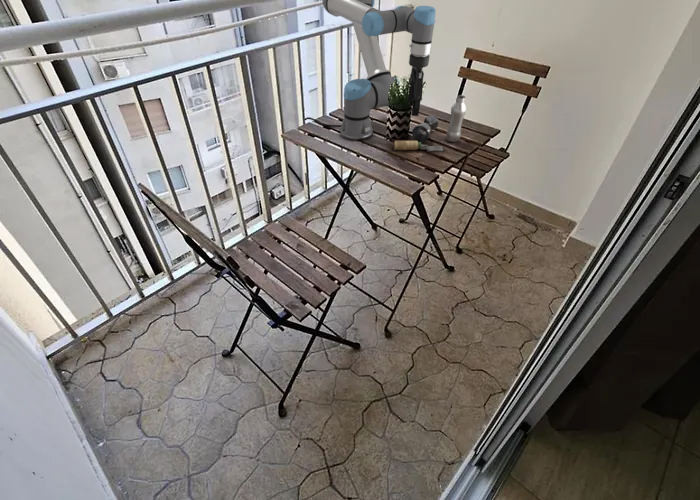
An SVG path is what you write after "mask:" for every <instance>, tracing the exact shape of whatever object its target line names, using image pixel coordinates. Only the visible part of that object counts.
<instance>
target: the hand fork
mask: <svg viewBox="0 0 700 500" xmlns="http://www.w3.org/2000/svg"><path fill="white" fill-rule="evenodd" d="M419 149H420V150H426V152H444V148H443V146H441V145H437V146H436V145H435V146H433V145H432V146H431V145H428V144H422V143H421V142H418V141H415V140H394V141H393V151H417V150H419Z"/></svg>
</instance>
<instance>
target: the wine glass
mask: <svg viewBox="0 0 700 500" xmlns="http://www.w3.org/2000/svg"><path fill="white" fill-rule="evenodd" d="M438 126H439V119H438V118H437V117H436V116H435V115H432V114H430V115H427V116H425V117H424V120H423V122H421V123H418V124H417V125H415V126H414V127H413V129H412V131H411V136H412V139H413V141H418V142H421V144H423V143H426V142H427V141H428V139H429V138H430V137H431V134H432V131H434V130H437V128H438Z"/></svg>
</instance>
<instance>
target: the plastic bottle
mask: <svg viewBox="0 0 700 500" xmlns="http://www.w3.org/2000/svg"><path fill="white" fill-rule="evenodd" d="M465 102H466V96H465V95H463V94H462V95H461V94H460V95H457V96H456V97H455V102H454V103H453V104H452V106H451V108H450V120H449V125H448V127H447V131H446V133H445V138H446V140H447V141H448V142H450V143H455V142H458V141H459V140H460V138H461V136H462V125H463V121H464V118H465V115H466V112H467V105H466V104H465Z"/></svg>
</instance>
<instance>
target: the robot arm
mask: <svg viewBox="0 0 700 500" xmlns="http://www.w3.org/2000/svg"><path fill="white" fill-rule="evenodd" d="M374 5H375V0H322V6H323V8H324V10H325V11H326V12H327V13H328V14H330V15H332V16H333V17H341V18H342V19H345V20H347V21H349V22H350V23H352V26H353V29H354V32H355V36H356V39H357V43H358V46H359V50H360V54H361V57H362V61H363V64H364V67H365V71H366V74H367V77H366V78H355V79H352V80H349V81H348V82H347V83H346V84H345V85H344V89H343V119H342V122H341V124H330V123H329V124H328V123H324V122H321V121H319V120H318V119H315V118H313V117H310V116H307V117H305V118H304V119H303V120H304V121H307V120H310V121H313V122H316V123H318V124H319V125H321V126H324V127H331V128H340V130H339V131H340V136H341V137H342V138H344V139H346V140H350V141H364V140H367V139H370V138H371V137H372V136H373V133H374V129H373V125H372V122H371V118H370V114H371V110H375V109H379V108H383V107H389V106H390V105H389V103H388V92H389V89H390V85H391V84H392V83H393V82H394V81H395V80H394V79H397V77H395V76H392V73H391V71H390V70H389V69H387V68H386V64H385V60H384V58H383V54H382V51H381V47H380V44H379V39H378V37H377V36H383V35H389V34H395V33H400V32H401V33H402V32H406V33H410V34H411V43H410V44H409V48H410V54H409V60H408V65H409V66H411V70H410V74H409V75H410V76H409V80H408V82H409V88H408V94H407V103H412V107H411V117H419V115H420V107H421V101H423V89H424V88H423V86H424V75H425V73H424V70H423V68H427V67H428V66H429V62H430V54H431V49H432V43H433V42H432V41H433V35H434V29H435V23H436V12H437V11H436V8H435V7H433V6H429V5H418V6H416V7H415V9H414V8H411V7H409V6H406V5H405V6H404V5H399V6H397V7H395V8H394V9H387V10H380V9H377V8H375V7H374ZM397 82H398V84H399V85H400V81H399V79H397ZM400 86H401V85H400ZM304 177H305V186H308V174H307V172H304Z"/></svg>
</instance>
